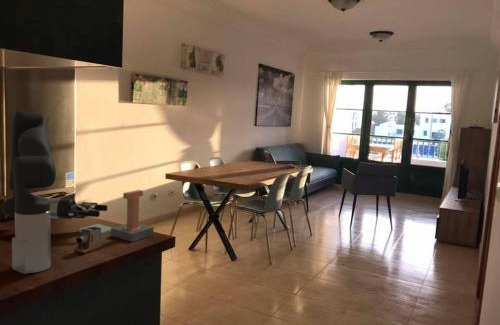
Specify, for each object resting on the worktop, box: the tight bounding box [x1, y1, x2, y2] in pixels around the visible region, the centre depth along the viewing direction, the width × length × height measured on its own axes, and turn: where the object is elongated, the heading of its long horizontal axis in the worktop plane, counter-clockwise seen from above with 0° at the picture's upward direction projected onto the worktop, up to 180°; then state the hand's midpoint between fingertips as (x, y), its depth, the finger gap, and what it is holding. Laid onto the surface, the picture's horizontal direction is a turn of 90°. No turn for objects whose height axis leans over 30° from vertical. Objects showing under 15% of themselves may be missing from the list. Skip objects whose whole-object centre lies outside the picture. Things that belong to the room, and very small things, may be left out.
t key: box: [122, 189, 144, 231], centre depth 156 cm, size 8×5×17 cm, turn 151°
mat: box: [76, 223, 113, 236], centre depth 160 cm, size 10×10×1 cm
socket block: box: [110, 223, 154, 243], centre depth 157 cm, size 11×11×3 cm
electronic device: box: [72, 227, 103, 256], centre depth 139 cm, size 4×10×8 cm, turn 161°
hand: (103, 210), depth 156 cm, fingers open, 8 cm apart
